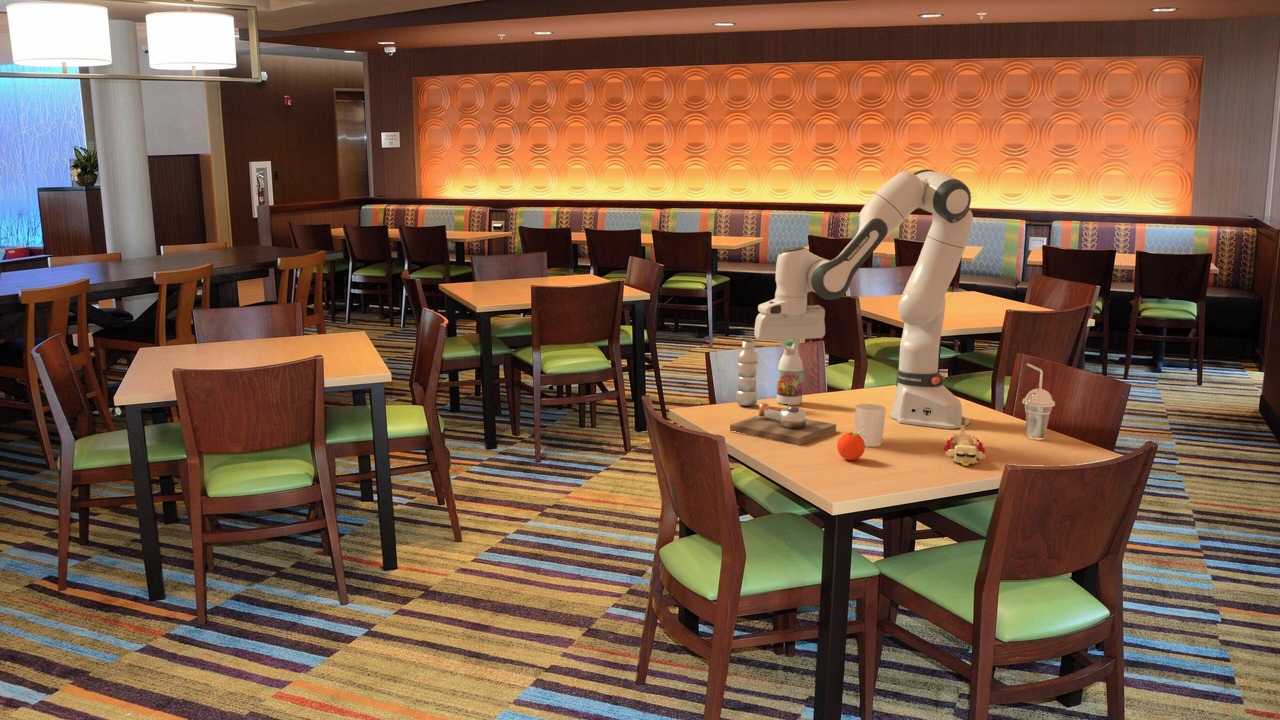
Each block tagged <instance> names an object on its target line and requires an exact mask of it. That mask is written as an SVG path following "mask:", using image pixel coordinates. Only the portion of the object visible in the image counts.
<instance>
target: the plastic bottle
mask: <svg viewBox="0 0 1280 720" xmlns="http://www.w3.org/2000/svg"><path fill="white" fill-rule="evenodd" d="M741 343H742V344H741V348H742V349H741V350H740V352H739V353H738V354H737V355H736V356H737V357H736V365H737V372H738V373H737V374H738V380H737V381H738V382H737V390H736V394H735V400H736V403H737V404H738V405H739V406H743V407H751V406H755V405H757V403H758V398H759V397H758V391H757V375H758V374H757V370H758V367H759V355H758V354H757V352H756V351H755V345H756V344H755V341H754V340H743V341H741Z"/></svg>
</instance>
